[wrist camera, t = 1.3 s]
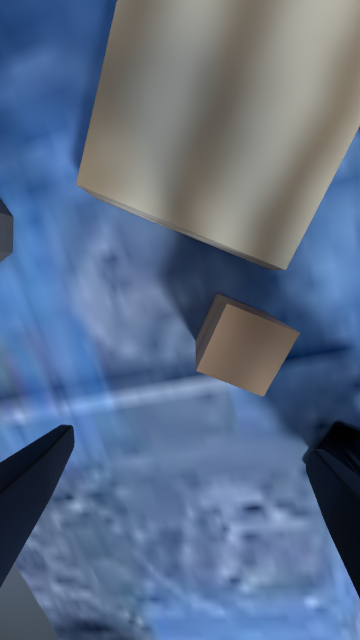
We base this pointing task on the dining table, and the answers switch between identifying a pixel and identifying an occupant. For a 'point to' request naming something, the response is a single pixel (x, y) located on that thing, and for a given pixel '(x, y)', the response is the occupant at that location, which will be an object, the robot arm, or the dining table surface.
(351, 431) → the robot arm
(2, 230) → the wine bottle
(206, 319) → the walnut block
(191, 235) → the birch base
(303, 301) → the dining table surface
